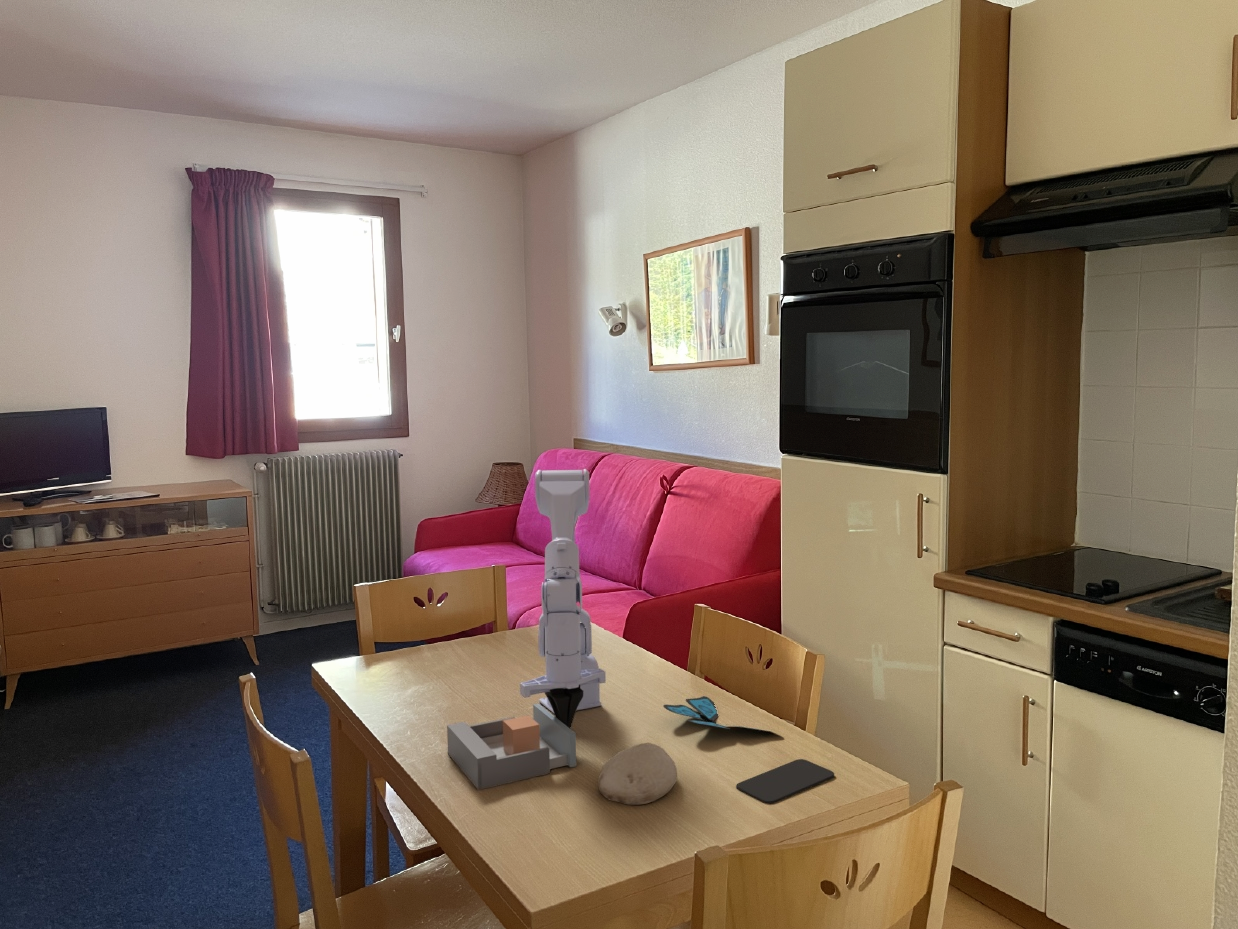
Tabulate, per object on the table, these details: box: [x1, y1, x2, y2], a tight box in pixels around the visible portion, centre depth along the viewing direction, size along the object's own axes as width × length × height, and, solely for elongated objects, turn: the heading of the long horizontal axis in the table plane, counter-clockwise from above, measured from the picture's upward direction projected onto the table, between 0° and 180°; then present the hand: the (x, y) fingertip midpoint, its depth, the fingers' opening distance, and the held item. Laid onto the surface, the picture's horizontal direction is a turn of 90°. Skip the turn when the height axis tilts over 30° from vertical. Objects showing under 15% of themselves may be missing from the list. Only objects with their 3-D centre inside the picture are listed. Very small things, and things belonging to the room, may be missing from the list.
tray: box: [481, 702, 577, 770], centre depth 148 cm, size 12×15×5 cm
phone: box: [735, 758, 835, 805], centre depth 138 cm, size 7×1×15 cm
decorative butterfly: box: [663, 695, 772, 732], centre depth 160 cm, size 20×14×3 cm
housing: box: [446, 716, 551, 791], centre depth 146 cm, size 12×15×5 cm
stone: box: [597, 742, 678, 806], centre depth 136 cm, size 13×10×8 cm
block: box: [503, 715, 540, 755], centre depth 148 cm, size 4×4×5 cm
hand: (564, 731), depth 151 cm, fingers closed
